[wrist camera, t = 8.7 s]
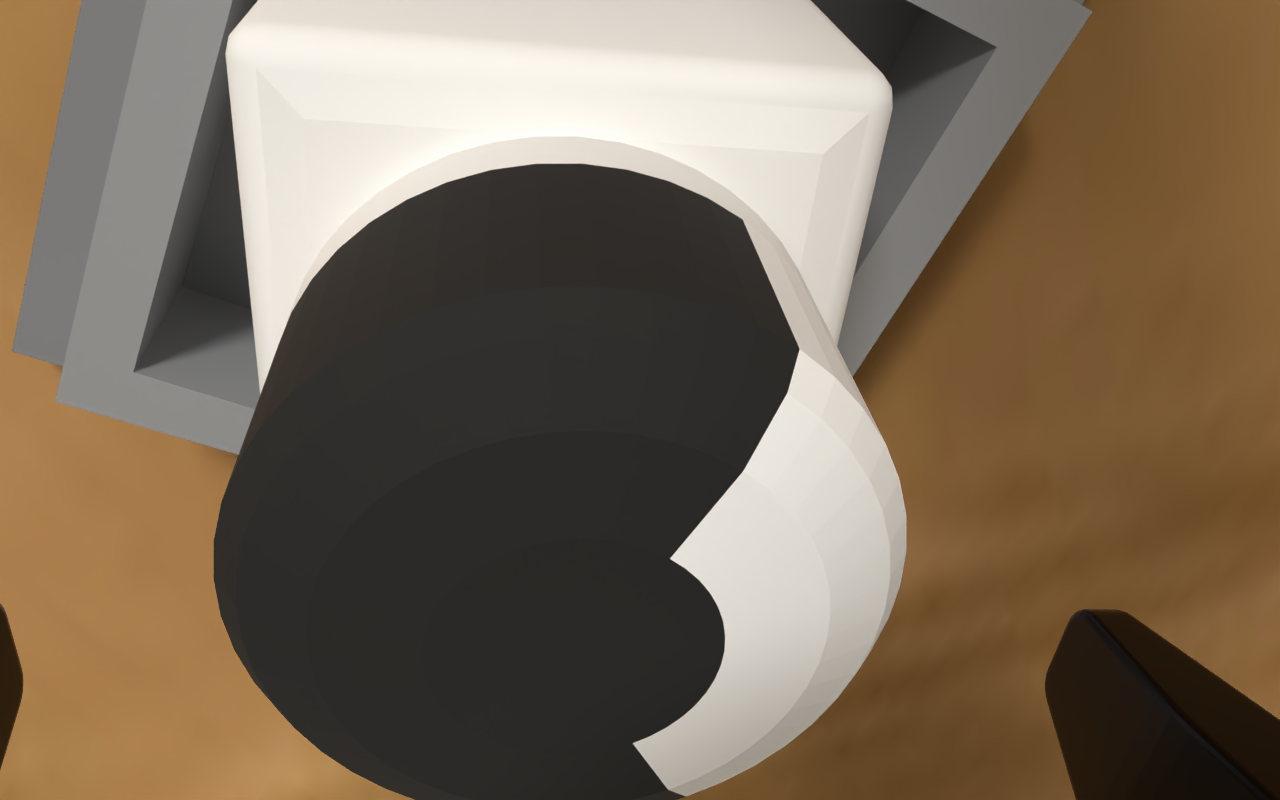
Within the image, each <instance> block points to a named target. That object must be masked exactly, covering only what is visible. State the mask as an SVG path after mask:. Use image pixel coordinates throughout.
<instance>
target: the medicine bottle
mask: <svg viewBox="0 0 1280 800" xmlns="http://www.w3.org/2000/svg"><path fill="white" fill-rule="evenodd" d="M225 55H226V65H227V74H228V84H229V94H230V104H231V114H232V123H233V133H234V143H235V153H236V163H237V172H238V182H239V192H240V202H241V212H242V221H243V231H244V241H245V251H246V261H247V270H248V280H249V290H250V300H251V309H252V319H253V329H254V339H255V349H256V358H257V368H258V378H259V388H260V397H259V400H258V403H257V405H256V408H255V411H254V414H253V417H252V419H251V422H250V425H249V428H248V430H247V433H246V436H245V439H244V441H243V444H242V447H241V450H240V453H239V455H238V458H237V461H236V464H235V466H234V469H233V472H232V475H231V477H230V480H229V483H228V486H227V489H226V491H225V494H224V497H223V500H222V503H221V508H220V513H219V518H218V523H217V528H216V533H215V538H214V583H215V588H216V593H217V598H218V603H219V608H220V614H221V617H222V620H223V622H224V625H225V627H226V630H227V632H228V635H229V637H230V640H231V642H232V645H233V647H234V650H235V652H236V653H237V655H238V657H239V658H240V660H241V661H242V663H243V665H244V666H245V668H246V670H247V671H248V673H249V675H250V676H251V678H252V679H253V681H254V682H255V684H256V685H257V686H258V687H259V688H260V689H261V691H262V692H263V693H264V694H265V695H266V696H267V698H268V699H269V700H270V701H271V702H272V703H273V705H274V706H275V707H276V708H277V709H278V710H279V711H280V713H281V714H282V715H283V716H284V717H285V718H286V719H287V720H288V721H289V722H290V723H291V724H292V726H293V727H294V728H295V729H296V730H298V731H299V732H300V733H301V734H302V735H303V736H304V737H306V738H307V739H308V740H309V741H310V742H311V743H312V744H314V745H315V746H316V747H317V748H318V749H319V750H320V751H322V752H323V753H325V754H326V755H328V756H329V757H331V758H332V759H334V760H335V761H337V762H338V763H340V764H341V765H343V766H344V767H346V768H347V769H349V770H350V771H352V772H354V773H356V774H358V775H360V776H362V777H364V778H366V779H368V780H370V781H372V782H374V783H376V784H378V785H380V786H382V787H384V788H386V789H388V790H391V791H394V792H396V793H399V794H402V795H404V796H407V797H410V798H413V799H415V800H676V799H680V798H683V797H686V796H689V795H691V794H694V793H696V792H699V791H702V790H704V789H707V788H709V787H712V786H714V785H717V784H719V783H722V782H724V781H726V780H728V779H730V778H732V777H734V776H736V775H738V774H739V773H741V772H743V771H745V770H747V769H749V768H751V767H753V766H755V765H757V764H758V763H760V762H761V761H763V760H764V759H766V758H767V757H769V756H771V755H772V754H774V753H775V752H777V751H778V750H780V749H781V748H783V747H785V746H786V745H787V744H788V743H790V742H791V741H792V740H793V739H795V738H796V737H797V736H798V735H800V734H801V733H802V732H803V731H804V730H806V729H807V728H808V727H809V726H811V725H812V724H813V723H814V722H815V721H816V720H817V719H818V718H819V717H820V716H821V715H822V714H823V713H824V712H825V711H826V710H827V709H828V708H829V707H830V706H831V705H832V703H833V702H834V701H835V700H836V699H837V698H838V697H839V696H840V694H841V693H842V692H843V690H844V689H845V688H846V686H847V685H848V684H849V682H850V681H851V680H852V678H853V677H854V675H855V674H856V673H857V671H858V670H859V668H860V667H861V665H862V664H863V662H864V661H865V659H866V658H867V656H868V655H869V653H870V652H871V650H872V648H873V646H874V644H875V643H876V641H877V639H878V637H879V635H880V633H881V632H882V630H883V628H884V626H885V624H886V622H887V621H888V619H889V616H890V613H891V610H892V607H893V605H894V602H895V599H896V596H897V593H898V591H899V588H900V584H901V579H902V573H903V567H904V562H905V556H906V511H905V506H904V500H903V495H902V490H901V484H900V479H899V477H898V474H897V472H896V469H895V466H894V464H893V461H892V459H891V456H890V454H889V451H888V449H887V446H886V444H885V442H884V440H883V438H882V436H881V434H880V432H879V430H878V428H877V426H876V424H875V422H874V420H873V418H872V416H871V414H870V412H869V410H868V408H867V406H866V404H865V402H864V400H863V398H862V396H861V394H860V392H859V390H858V388H857V386H856V384H855V382H854V380H853V377H852V375H851V373H850V371H849V369H848V367H847V365H846V363H845V361H844V359H843V357H842V355H841V353H840V351H839V349H838V347H837V345H838V340H839V336H840V332H841V328H842V323H843V319H844V315H845V310H846V306H847V302H848V298H849V293H850V289H851V285H852V280H853V276H854V272H855V268H856V263H857V259H858V255H859V250H860V246H861V242H862V238H863V233H864V229H865V225H866V221H867V216H868V212H869V208H870V203H871V199H872V195H873V191H874V186H875V182H876V178H877V173H878V169H879V165H880V161H881V156H882V152H883V148H884V143H885V139H886V135H887V131H888V126H889V122H890V118H891V114H892V109H893V104H892V87H891V85H890V84H889V82H888V81H887V79H886V78H885V76H884V75H883V74H882V72H881V71H880V70H879V69H878V68H877V67H876V66H875V65H874V64H873V63H872V62H871V61H870V60H869V59H868V58H867V57H866V56H865V55H864V54H863V53H862V52H861V51H860V50H859V49H858V48H857V47H856V46H855V45H854V44H853V43H852V42H851V41H850V40H849V39H848V38H847V37H846V36H845V35H844V34H843V33H842V32H841V31H840V30H839V29H838V28H837V27H836V26H835V25H834V24H833V23H832V22H831V21H830V20H829V18H828V17H827V16H826V15H825V14H824V13H823V12H822V11H821V10H820V9H819V8H818V7H817V6H816V5H815V4H814V3H813V2H812V1H811V0H258V1H257V2H256V3H255V5H254V6H253V7H252V8H251V9H250V11H249V12H248V13H247V14H246V15H245V17H244V18H243V19H242V20H241V21H240V23H239V24H238V25H237V26H236V27H235V29H234V30H233V31H232V32H231V33H230V35H229V36H228V42H227V48H226V53H225Z"/></svg>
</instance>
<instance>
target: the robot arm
mask: <svg viewBox="0 0 1280 800" xmlns="http://www.w3.org/2000/svg"><path fill="white" fill-rule="evenodd" d="M1045 692H1046V699H1047V703H1048V706H1049V710H1050V713H1051V716H1052V720H1053V723H1054V727H1055V730H1056V733H1057V737H1058V740H1059V744H1060V747H1061V750H1062V754H1063V757H1064V760H1065V764H1066V767H1067V771H1068V774H1069V777H1070V781H1071V784H1072V788H1073V791H1074V794H1075V798H1076V800H1280V720H1279V719H1278V718H1276V717H1275V716H1273V715H1272V714H1271V713H1269V712H1268V711H1266V710H1265V709H1264V708H1262V707H1261V706H1259V705H1258V704H1256V703H1255V702H1254V701H1252V700H1251V699H1249V698H1248V697H1246V696H1245V695H1244V694H1242V693H1241V692H1239V691H1238V690H1236V689H1235V688H1234V687H1232V686H1231V685H1229V684H1228V683H1227V682H1225V681H1224V680H1222V679H1221V678H1219V677H1218V676H1217V675H1215V674H1214V673H1212V672H1211V671H1209V670H1208V669H1207V668H1205V667H1204V666H1202V665H1201V664H1199V663H1198V662H1197V661H1195V660H1194V659H1192V658H1191V657H1190V656H1188V655H1187V654H1185V653H1184V652H1182V651H1181V650H1180V649H1178V648H1177V647H1175V646H1174V645H1172V644H1171V643H1170V642H1168V641H1167V640H1165V639H1164V638H1162V637H1161V636H1160V635H1158V634H1157V633H1155V632H1154V631H1153V630H1151V629H1150V628H1148V627H1147V626H1145V625H1144V624H1143V623H1141V622H1140V621H1138V620H1137V619H1135V618H1134V617H1133V616H1131V615H1129V614H1128V613H1126V612H1124V611H1120V610H1107V609H1084V610H1080V611H1078V612H1076V613H1075V614H1074V615H1073V616H1072V617H1071V619H1070V620H1069V622H1068V625H1067V627H1066V629H1065V631H1064V634H1063V636H1062V638H1061V641H1060V643H1059V645H1058V647H1057V650H1056V652H1055V654H1054V656H1053V659H1052V661H1051V663H1050V666H1049V668H1048V671H1047V674H1046V680H1045ZM22 693H23V673H22V668H21V664H20V661H19V657H18V654H17V650H16V646H15V643H14V639H13V636H12V632H11V629H10V625H9V622H8V618H7V615H6V612H5V610H4V608H3V606H2V605H1V604H0V769H1V766H2V763H3V759H4V756H5V753H6V750H7V746H8V743H9V740H10V736H11V733H12V730H13V726H14V723H15V720H16V716H17V713H18V710H19V706H20V703H21V699H22Z"/></svg>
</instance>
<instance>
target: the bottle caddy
mask: <svg viewBox="0 0 1280 800" xmlns="http://www.w3.org/2000/svg"><path fill="white" fill-rule="evenodd" d="M257 1H258V0H82V1H81V6H80V11H79V16H78V21H77V26H76V31H75V36H74V41H73V46H72V51H71V57H70V62H69V67H68V72H67V77H66V82H65V87H64V92H63V97H62V102H61V107H60V112H59V117H58V122H57V127H56V132H55V137H54V142H53V147H52V152H51V157H50V162H49V167H48V172H47V177H46V182H45V187H44V192H43V197H42V202H41V208H40V213H39V218H38V223H37V228H36V233H35V238H34V243H33V248H32V253H31V258H30V263H29V268H28V273H27V278H26V283H25V288H24V293H23V298H22V303H21V308H20V313H19V318H18V323H17V328H16V333H15V338H14V343H13V348H12V351H13V352H16V353H19V354H23V355H26V356H29V357H33V358H36V359H39V360H43V361H46V362H49V363H53V364H56V365H59V366H63V369H62V374H61V378H60V383H59V387H58V391H57V396H56V400H55V402H58V403H62V404H65V405H69V406H72V407H75V408H79V409H82V410H86V411H89V412H93V413H96V414H100V415H103V416H106V417H110V418H113V419H117V420H120V421H124V422H127V423H131V424H134V425H137V426H141V427H144V428H148V429H151V430H155V431H158V432H162V433H165V434H168V435H172V436H175V437H179V438H182V439H186V440H189V441H193V442H196V443H199V444H203V445H206V446H210V447H213V448H217V449H220V450H224V451H227V452H230V453H234V454H237V455H239V453H240V450H241V447H242V444H243V441H244V439H245V436H246V433H247V430H248V428H249V425H250V422H251V419H252V417H253V414H254V411H255V408H256V405H257V403H258V400H259V397H260V388H259V378H258V368H257V358H256V349H255V339H254V329H253V319H252V309H251V300H250V290H249V280H248V270H247V261H246V251H245V241H244V231H243V221H242V212H241V202H240V192H239V182H238V172H237V163H236V153H235V143H234V133H233V123H232V114H231V104H230V94H229V84H228V74H227V65H226V55H225V53H226V48H227V42H228V36H229V35H230V33H231V32H232V31H233V30H234V29H235V27H236V26H237V25H238V24H239V23H240V21H241V20H242V19H243V18H244V17H245V15H246V14H247V13H248V12H249V11H250V9H251V8H252V7H253V6H254V5H255V3H256V2H257ZM811 1H812V2H813V3H814V4H815V5H816V6H817V7H818V8H819V9H820V10H821V11H822V12H823V13H824V14H825V15H826V16H827V17H828V18H829V20H830V21H831V22H832V23H833V24H834V25H835V26H836V27H837V28H838V29H839V30H840V31H841V32H842V33H843V34H844V35H845V36H846V37H847V38H848V39H849V40H850V41H851V42H852V43H853V44H854V45H855V46H856V47H857V48H858V49H859V50H860V51H861V52H862V53H863V54H864V55H865V56H866V57H867V58H868V59H869V60H870V61H871V62H872V63H873V64H874V65H875V66H876V67H877V68H878V69H879V70H880V71H881V72H882V74H883V75H884V76H885V78H886V79H887V81H888V82H889V84H890V85H891V87H892V104H893V109H892V114H891V118H890V122H889V126H888V131H887V135H886V139H885V143H884V148H883V152H882V156H881V161H880V165H879V169H878V173H877V178H876V182H875V186H874V191H873V195H872V199H871V203H870V208H869V212H868V216H867V221H866V225H865V229H864V233H863V238H862V242H861V246H860V250H859V255H858V259H857V263H856V268H855V272H854V276H853V280H852V285H851V289H850V293H849V298H848V302H847V306H846V310H845V315H844V319H843V323H842V328H841V332H840V336H839V340H838V345H837V347H838V349H839V351H840V353H841V355H842V357H843V359H844V361H845V363H846V365H847V367H848V369H849V371H850V373H851V375H852V377H853V376H854V374H855V373H856V371H857V369H858V368H859V366H860V365H861V363H862V362H863V360H864V359H865V357H866V356H867V354H868V353H869V351H870V350H871V348H872V347H873V345H874V344H875V342H876V341H877V339H878V338H879V336H880V334H881V333H882V331H883V330H884V328H885V327H886V325H887V324H888V322H889V321H890V319H891V318H892V316H893V315H894V313H895V312H896V310H897V309H898V307H899V306H900V304H901V302H902V301H903V299H904V298H905V296H906V295H907V293H908V292H909V290H910V289H911V287H912V286H913V284H914V283H915V281H916V280H917V278H918V277H919V275H920V274H921V272H922V271H923V269H924V267H925V266H926V264H927V263H928V261H929V260H930V258H931V257H932V255H933V254H934V252H935V251H936V249H937V248H938V246H939V245H940V243H941V242H942V240H943V239H944V237H945V236H946V234H947V232H948V231H949V229H950V228H951V226H952V225H953V223H954V222H955V220H956V219H957V217H958V216H959V214H960V213H961V211H962V210H963V208H964V207H965V205H966V204H967V202H968V200H969V199H970V197H971V196H972V194H973V193H974V191H975V190H976V188H977V187H978V185H979V184H980V182H981V181H982V179H983V178H984V176H985V175H986V173H987V172H988V170H989V169H990V167H991V165H992V164H993V162H994V161H995V159H996V158H997V156H998V155H999V153H1000V152H1001V150H1002V149H1003V147H1004V146H1005V144H1006V143H1007V141H1008V140H1009V138H1010V137H1011V135H1012V134H1013V132H1014V130H1015V129H1016V127H1017V126H1018V124H1019V123H1020V121H1021V120H1022V118H1023V117H1024V115H1025V114H1026V112H1027V111H1028V109H1029V108H1030V106H1031V105H1032V103H1033V102H1034V100H1035V99H1036V97H1037V95H1038V94H1039V92H1040V91H1041V89H1042V88H1043V86H1044V85H1045V83H1046V82H1047V80H1048V79H1049V77H1050V76H1051V74H1052V73H1053V71H1054V70H1055V68H1056V67H1057V65H1058V63H1059V62H1060V60H1061V59H1062V57H1063V56H1064V54H1065V53H1066V51H1067V50H1068V48H1069V47H1070V45H1071V44H1072V42H1073V41H1074V39H1075V38H1076V36H1077V35H1078V33H1079V32H1080V30H1081V28H1082V27H1083V25H1084V24H1085V22H1086V21H1087V19H1088V18H1089V16H1090V15H1091V13H1092V12H1093V11H1091V10H1090V9H1088V8H1086V7H1084V6H1082V4H1083V2H1084V1H1085V0H811Z"/></svg>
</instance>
